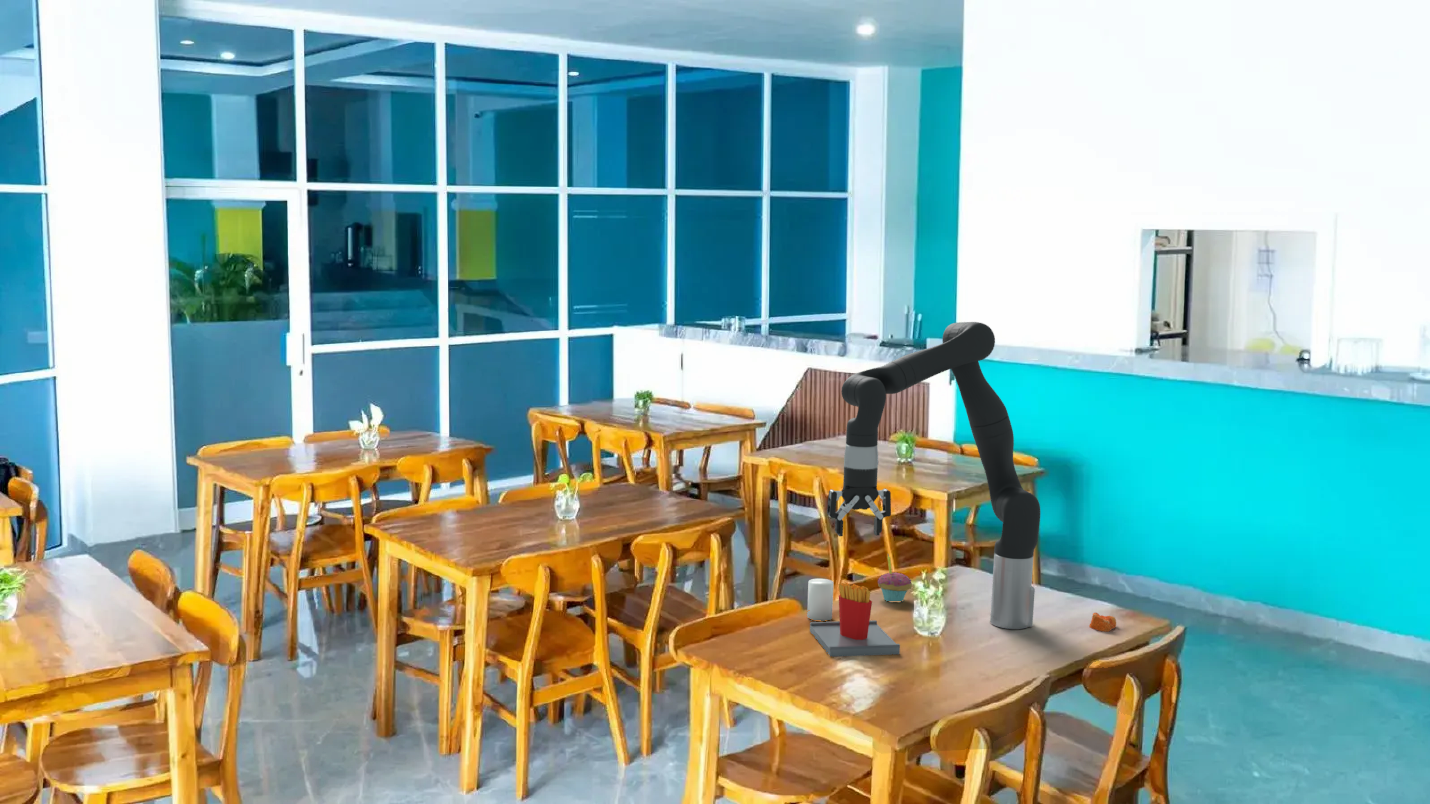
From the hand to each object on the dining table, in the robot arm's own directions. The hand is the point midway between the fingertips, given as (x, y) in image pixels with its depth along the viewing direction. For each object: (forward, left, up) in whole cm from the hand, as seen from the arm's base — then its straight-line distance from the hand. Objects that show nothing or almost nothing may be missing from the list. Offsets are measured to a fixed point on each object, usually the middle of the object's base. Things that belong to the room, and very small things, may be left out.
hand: (858, 535), depth 299 cm
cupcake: (-20, -32, -25) cm, 46 cm away
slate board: (0, 0, -25) cm, 25 cm away
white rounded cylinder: (+3, -19, -25) cm, 32 cm away
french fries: (0, 0, -24) cm, 24 cm away
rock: (-64, -5, -26) cm, 69 cm away
